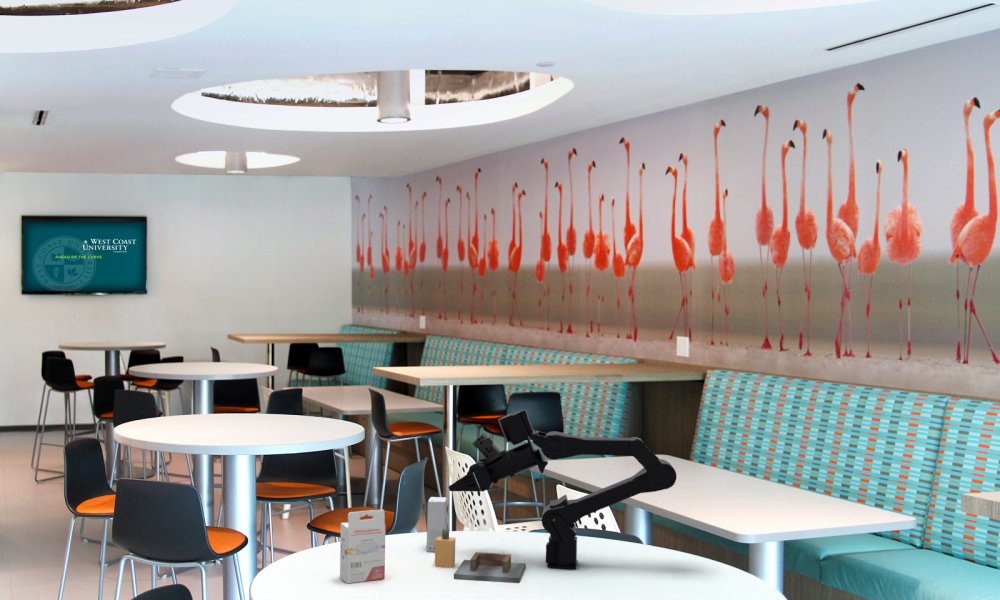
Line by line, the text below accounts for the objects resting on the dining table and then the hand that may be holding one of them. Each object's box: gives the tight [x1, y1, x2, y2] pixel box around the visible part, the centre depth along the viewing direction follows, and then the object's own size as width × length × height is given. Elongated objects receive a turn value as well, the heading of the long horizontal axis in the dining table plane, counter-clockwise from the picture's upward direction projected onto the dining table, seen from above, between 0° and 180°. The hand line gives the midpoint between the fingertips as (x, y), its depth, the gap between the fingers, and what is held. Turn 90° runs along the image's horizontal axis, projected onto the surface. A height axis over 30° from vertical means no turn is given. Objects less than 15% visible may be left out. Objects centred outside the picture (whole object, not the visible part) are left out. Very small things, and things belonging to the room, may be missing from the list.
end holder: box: [453, 551, 527, 584], centre depth 196 cm, size 14×12×4 cm
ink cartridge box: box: [339, 509, 386, 584], centre depth 190 cm, size 9×5×15 cm, turn 117°
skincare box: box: [426, 496, 448, 553], centre depth 217 cm, size 6×4×12 cm
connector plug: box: [434, 528, 456, 569], centre depth 202 cm, size 4×3×8 cm
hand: (452, 486), depth 207 cm, fingers open, 9 cm apart
